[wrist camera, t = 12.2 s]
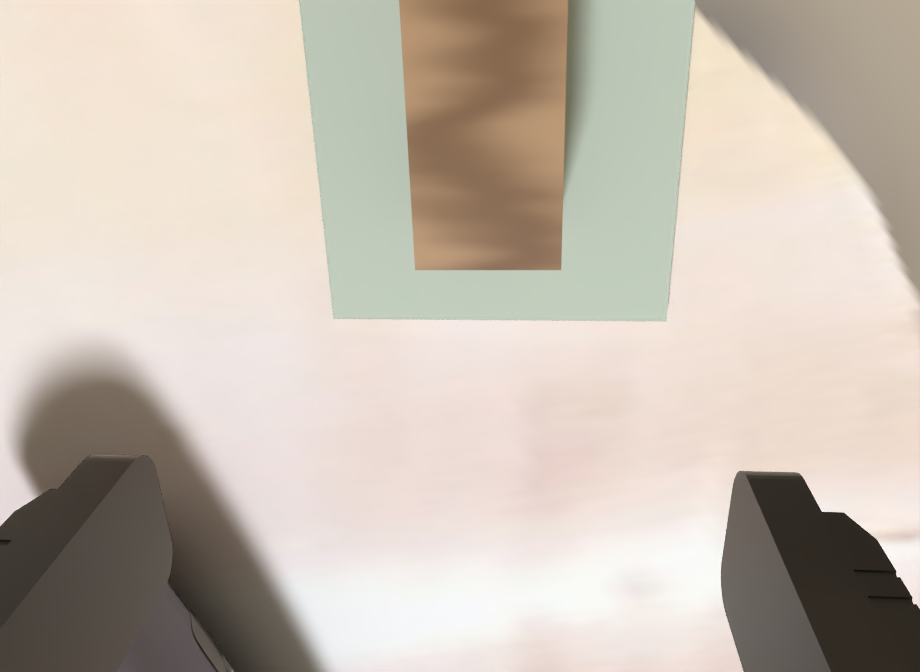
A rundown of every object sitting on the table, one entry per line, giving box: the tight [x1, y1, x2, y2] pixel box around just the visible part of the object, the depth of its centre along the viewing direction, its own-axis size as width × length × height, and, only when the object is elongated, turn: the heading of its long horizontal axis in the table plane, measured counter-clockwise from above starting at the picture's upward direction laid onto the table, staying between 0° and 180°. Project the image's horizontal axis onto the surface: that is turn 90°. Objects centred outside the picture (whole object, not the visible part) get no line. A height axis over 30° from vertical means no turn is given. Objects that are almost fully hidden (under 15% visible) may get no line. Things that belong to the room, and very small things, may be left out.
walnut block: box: [399, 0, 568, 270], centre depth 27 cm, size 5×5×11 cm
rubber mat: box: [299, 0, 695, 321], centre depth 29 cm, size 14×20×1 cm
